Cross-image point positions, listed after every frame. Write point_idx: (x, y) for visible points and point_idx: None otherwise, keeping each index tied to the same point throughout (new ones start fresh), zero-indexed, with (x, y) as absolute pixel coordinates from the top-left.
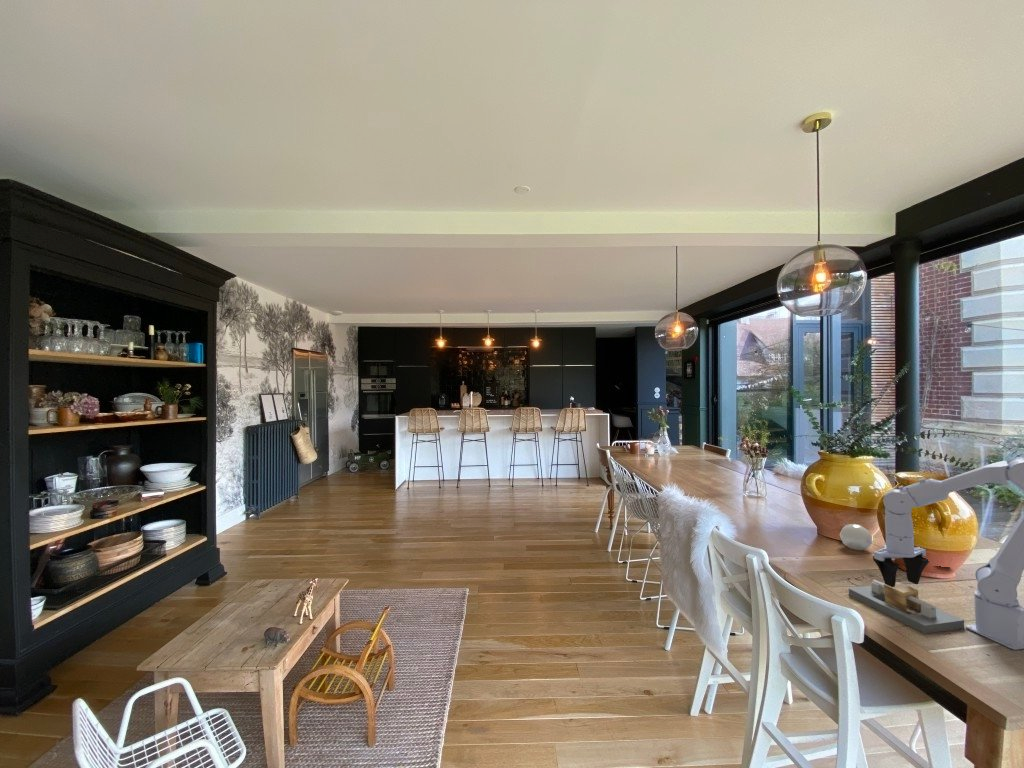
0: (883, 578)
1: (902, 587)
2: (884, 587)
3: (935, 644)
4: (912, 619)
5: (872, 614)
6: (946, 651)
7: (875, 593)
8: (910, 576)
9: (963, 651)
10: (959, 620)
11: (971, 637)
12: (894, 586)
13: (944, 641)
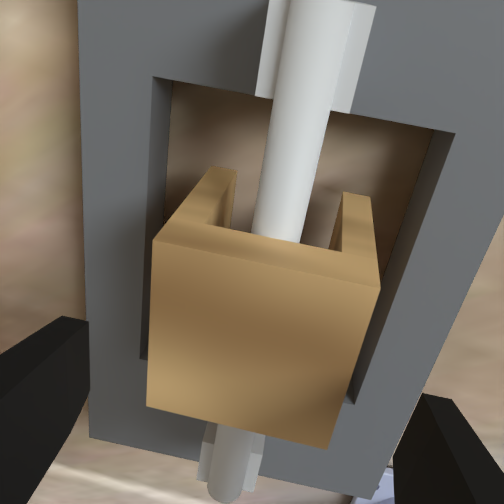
0: (8, 352)
1: (260, 364)
2: (164, 227)
3: (64, 446)
4: (90, 390)
5: (12, 184)
6: (56, 476)
7: (249, 56)
8: (428, 478)
9: (123, 500)
10: (342, 491)
11: (288, 489)
12: (82, 396)
13: (129, 453)
